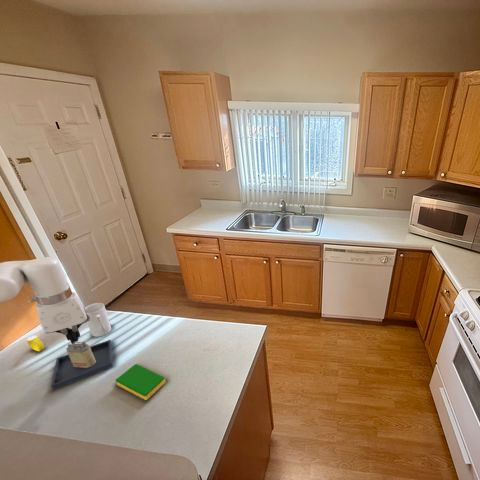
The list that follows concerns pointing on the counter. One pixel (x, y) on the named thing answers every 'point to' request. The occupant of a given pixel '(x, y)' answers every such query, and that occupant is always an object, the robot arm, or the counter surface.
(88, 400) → the counter surface
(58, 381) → the tray
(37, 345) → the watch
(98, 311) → the mug
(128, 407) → the counter surface
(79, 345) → the lighter
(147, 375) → the dish sponge
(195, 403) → the counter surface
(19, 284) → the robot arm
